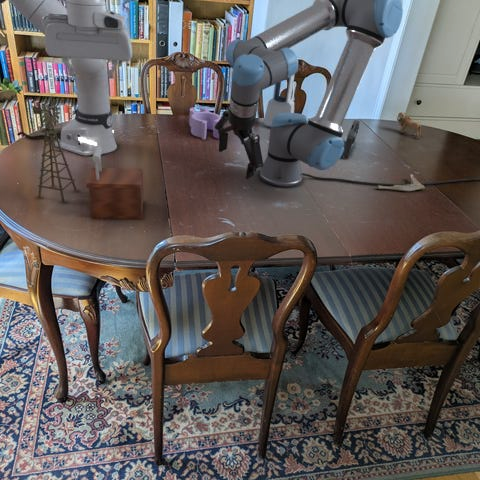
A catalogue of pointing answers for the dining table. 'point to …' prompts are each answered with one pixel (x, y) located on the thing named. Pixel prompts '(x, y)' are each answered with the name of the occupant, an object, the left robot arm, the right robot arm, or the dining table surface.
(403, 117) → the lion figurine
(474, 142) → the dining table surface
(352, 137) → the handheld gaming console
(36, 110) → the miniature windmill
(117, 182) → the wooden panel with handle
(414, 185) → the jawbone
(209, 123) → the clip
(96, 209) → the open box
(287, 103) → the electronic device
